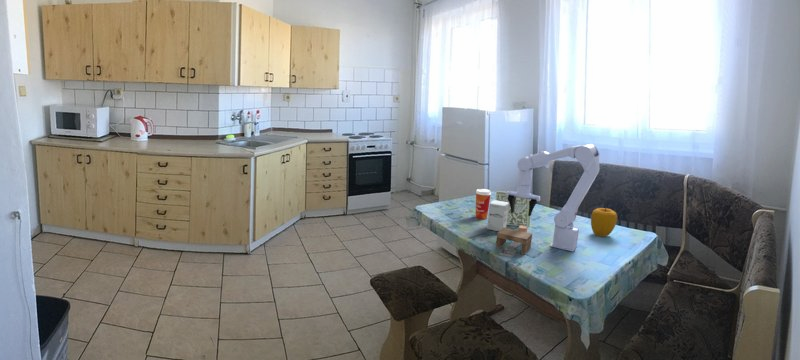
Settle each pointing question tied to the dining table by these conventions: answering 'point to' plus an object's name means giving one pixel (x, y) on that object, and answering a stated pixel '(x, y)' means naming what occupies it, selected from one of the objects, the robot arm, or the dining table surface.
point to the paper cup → (482, 203)
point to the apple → (603, 221)
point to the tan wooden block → (515, 245)
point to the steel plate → (507, 253)
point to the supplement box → (497, 215)
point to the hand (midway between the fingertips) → (521, 213)
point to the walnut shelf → (514, 238)
